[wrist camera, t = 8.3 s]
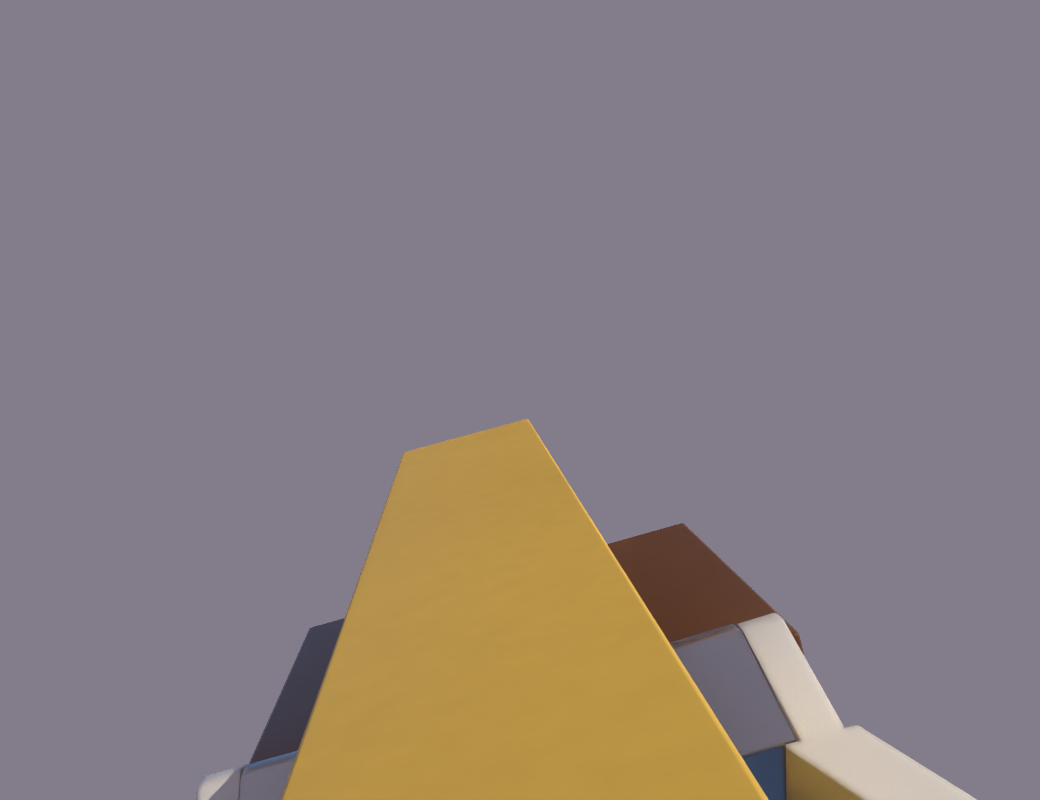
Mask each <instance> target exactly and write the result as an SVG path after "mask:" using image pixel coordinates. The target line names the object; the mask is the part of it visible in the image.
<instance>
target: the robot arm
mask: <svg viewBox="0 0 1040 800" xmlns="http://www.w3.org/2000/svg"><path fill="white" fill-rule="evenodd" d="M670 645H671V646H672V648H673V649H674V651H675V652H676V654H677V656H678V657H679V659H680V660H681V662H682V664H683V665H684V667H685V668H686V670H687V671H688V673H689V675H690V676H691V678H692V679H693V681H694V683H695V684H696V686H697V687H698V689H699V690H700V692H701V694H702V695H703V697H704V698H705V700H706V701H707V703H708V705H709V706H710V708H711V709H712V711H713V713H714V714H715V716H716V717H717V719H718V720H719V722H720V724H721V725H722V727H723V728H724V730H725V732H726V733H727V735H728V736H729V738H730V739H731V741H732V743H733V744H734V746H735V747H736V749H737V751H738V752H739V754H740V755H741V757H742V758H743V760H744V762H745V763H746V765H747V766H748V768H749V769H750V771H751V773H752V774H753V776H754V777H755V779H756V781H757V782H758V784H759V785H760V787H761V788H762V790H763V792H764V793H765V795H766V796H767V798H768V800H976V799H975V798H973V797H972V796H970V795H968V794H967V793H965V792H964V791H962V790H961V789H959V788H957V787H956V786H954V785H952V784H951V783H949V782H948V781H946V780H945V779H943V778H941V777H940V776H938V775H937V774H935V773H933V772H932V771H930V770H929V769H927V768H925V767H924V766H922V765H921V764H919V763H917V762H916V761H914V760H913V759H911V758H909V757H908V756H906V755H904V754H903V753H901V752H900V751H898V750H897V749H895V748H893V747H892V746H890V745H889V744H887V743H885V742H884V741H882V740H881V739H879V738H877V737H876V736H874V735H873V734H871V733H869V732H868V731H866V730H865V729H863V728H861V727H860V726H858V725H857V724H856V725H852V726H848V727H844V726H843V724H842V723H841V721H840V719H839V717H838V716H837V714H836V712H835V710H834V708H833V707H832V705H831V703H830V701H829V700H828V698H827V696H826V694H825V693H824V691H823V689H822V687H821V686H820V684H819V682H818V681H817V678H816V676H815V675H814V673H813V672H812V669H811V668H810V666H809V664H808V662H807V660H806V659H805V657H804V655H803V653H802V652H801V650H800V648H799V646H798V644H797V643H796V641H795V639H794V637H793V636H792V634H791V632H790V630H789V628H788V627H787V625H786V623H785V621H784V620H783V619H782V618H781V617H780V616H779V615H778V614H776V613H771V614H768V615H764V616H761V617H758V618H755V619H752V620H748V621H745V622H742V623H739V624H736V625H734V624H730V625H727V626H724V627H720V628H717V629H714V630H710V631H707V632H704V633H701V634H697V635H694V636H691V637H687V638H684V639H681V640H678V641H674V642H671V643H670ZM296 754H297V751H295V752H292V753H288V754H284V755H281V756H277V757H273V758H270V759H266V760H262V761H258V762H255V763H251V764H246V765H243V766H239V767H235V768H232V769H228V770H225V771H221V772H218V773H214V774H211V775H207V776H204V777H203V778H202V781H201V783H200V785H199V788H198V790H197V793H196V800H280V799H281V796H282V794H283V791H284V788H285V785H286V782H287V780H288V777H289V774H290V771H291V768H292V766H293V763H294V760H295V757H296Z"/></svg>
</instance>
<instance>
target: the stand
mask: <svg viewBox="0 0 1040 800" xmlns="http://www.w3.org/2000/svg"><path fill="white" fill-rule="evenodd" d="M607 545H608V547H609V548H610V550H611V551H612V553H613V554H614V556H615V558H616V559H617V561H618V562H619V564H620V565H621V567H622V569H623V570H624V572H625V573H626V575H627V577H628V578H629V580H630V581H631V583H632V584H633V586H634V588H635V589H636V591H637V592H638V594H639V596H640V597H641V599H642V600H643V602H644V603H645V605H646V607H647V608H648V610H649V611H650V613H651V615H652V616H653V618H654V619H655V621H656V622H657V624H658V626H659V627H660V629H661V630H662V632H663V633H664V635H665V637H666V638H667V640H668V641H669V643H671V642H674V641H678V640H681V639H684V638H687V637H691V636H694V635H697V634H701V633H704V632H707V631H710V630H714V629H717V628H720V627H724V626H727V625H730V624H734V625H736V624H739V623H742V622H745V621H748V620H752V619H755V618H758V617H761V616H764V615H768V614H771V613H776V614H778V613H777V612H776V611H775V610H774V609H773V608H772V607H771V606H770V605H769V604H768V603H767V602H765V601H764V600H763V599H762V598H761V597H760V596H759V595H758V594H757V593H756V592H755V591H754V590H753V589H752V588H751V587H750V586H749V585H747V583H746V582H744V581H743V580H742V579H741V578H740V577H739V576H738V575H737V574H736V573H735V572H734V571H733V570H732V569H731V568H730V567H729V566H728V565H727V564H726V563H725V562H724V561H722V560H721V559H720V558H719V557H718V556H717V555H716V554H715V553H714V552H713V551H712V550H711V549H710V548H709V547H708V546H707V545H706V544H705V543H704V542H702V541H701V540H700V539H699V538H698V537H697V536H696V535H695V534H694V533H693V532H692V531H691V530H690V529H689V528H688V527H687V526H686V525H685V524H683V523H682V524H678V525H674V526H671V527H667V528H664V529H660V530H657V531H653V532H649V533H646V534H643V535H639V536H635V537H632V538H628V539H624V540H621V541H617V542H614V543H610V544H607ZM778 615H779V614H778ZM779 616H780V615H779ZM780 617H781V616H780ZM781 618H782V617H781ZM344 619H345V618H344ZM344 619H340V620H337V621H333V622H330V623H326V624H323V625H319V626H315V627H312V628H310V629H309V631H308V633H307V636H306V638H305V640H304V642H303V644H302V647H301V649H300V652H299V653H298V656H297V658H296V660H295V662H294V665H293V667H292V669H291V671H290V674H289V676H288V678H287V680H286V683H285V685H284V687H283V689H282V691H281V694H280V696H279V698H278V700H277V703H276V705H275V707H274V709H273V712H272V713H271V716H270V718H269V720H268V722H267V725H266V727H265V729H264V732H263V734H262V736H261V738H260V740H259V742H258V745H257V747H256V749H255V751H254V754H253V756H252V758H251V760H250V763H249V764H251V763H255V762H258V761H262V760H266V759H270V758H273V757H277V756H281V755H284V754H288V753H292V752H295V751H298V749H299V746H300V743H301V740H302V737H303V735H304V732H305V729H306V726H307V723H308V721H309V718H310V715H311V712H312V709H313V706H314V704H315V701H316V698H317V695H318V692H319V690H320V687H321V684H322V681H323V678H324V676H325V673H326V670H327V667H328V664H329V661H330V659H331V656H332V653H333V650H334V647H335V645H336V642H337V639H338V636H339V633H340V630H341V628H342V625H343V622H344ZM782 619H783V618H782ZM783 620H784V619H783ZM784 621H785V623H786V625H787V627H788V628H789V630H790V632H791V634H792V636H793V637H794V639H795V641H796V643H797V644H798V646H799V648H800V650H801V652H802V653H803V649H802V645H801V640H800V636H799V634H798V632H797V631H796V630H795V629H794V628H793V627H792V626H791V625H790V624H789V623H788V622H787V621H786V620H784ZM803 655H804V653H803Z"/></svg>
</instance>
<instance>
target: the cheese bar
mask: <svg viewBox="0 0 1040 800" xmlns="http://www.w3.org/2000/svg"><path fill="white" fill-rule="evenodd" d="M280 800H768V798H767V796H766V795H765V793H764V792H763V790H762V788H761V787H760V785H759V784H758V782H757V781H756V779H755V777H754V776H753V774H752V773H751V771H750V769H749V768H748V766H747V765H746V763H745V762H744V760H743V758H742V757H741V755H740V754H739V752H738V751H737V749H736V747H735V746H734V744H733V743H732V741H731V739H730V738H729V736H728V735H727V733H726V732H725V730H724V728H723V727H722V725H721V724H720V722H719V720H718V719H717V717H716V716H715V714H714V713H713V711H712V709H711V708H710V706H709V705H708V703H707V701H706V700H705V698H704V697H703V695H702V694H701V692H700V690H699V689H698V687H697V686H696V684H695V683H694V681H693V679H692V678H691V676H690V675H689V673H688V671H687V670H686V668H685V667H684V665H683V664H682V662H681V660H680V659H679V657H678V656H677V654H676V652H675V651H674V649H673V648H672V646H671V645H670V643H669V641H668V640H667V638H666V637H665V635H664V633H663V632H662V630H661V629H660V627H659V626H658V624H657V622H656V621H655V619H654V618H653V616H652V615H651V613H650V611H649V610H648V608H647V607H646V605H645V603H644V602H643V600H642V599H641V597H640V596H639V594H638V592H637V591H636V589H635V588H634V586H633V584H632V583H631V581H630V580H629V578H628V577H627V575H626V573H625V572H624V570H623V569H622V567H621V565H620V564H619V562H618V561H617V559H616V558H615V556H614V554H613V553H612V551H611V550H610V548H609V547H608V545H607V543H606V542H605V541H604V539H603V537H602V535H601V534H600V532H599V531H598V529H597V528H596V526H595V524H594V523H593V521H592V520H591V518H590V516H589V515H588V513H587V512H586V510H585V509H584V507H583V505H582V504H581V502H580V501H579V499H578V497H577V496H576V494H575V493H574V491H573V490H572V488H571V486H570V485H569V483H568V482H567V480H566V479H565V477H564V476H563V474H562V472H561V471H560V469H559V467H558V466H557V464H556V463H555V461H554V460H553V458H552V457H551V455H550V453H549V452H548V450H547V448H546V447H545V445H544V444H543V442H542V441H541V439H540V437H539V436H538V434H537V433H536V431H535V429H534V428H533V426H532V425H531V423H530V422H529V420H528V419H524V420H521V421H517V422H513V423H510V424H506V425H503V426H499V427H495V428H492V429H488V430H484V431H481V432H477V433H473V434H470V435H466V436H462V437H459V438H455V439H451V440H448V441H444V442H440V443H437V444H433V445H430V446H426V447H422V448H418V449H415V450H411V451H407V452H405V453H403V457H402V459H401V462H400V465H399V467H398V470H397V473H396V476H395V479H394V481H393V484H392V487H391V490H390V493H389V495H388V498H387V501H386V504H385V507H384V510H383V512H382V515H381V518H380V521H379V524H378V526H377V530H376V532H375V535H374V538H373V540H372V543H371V546H370V549H369V552H368V555H367V557H366V560H365V563H364V566H363V569H362V572H361V574H360V577H359V580H358V583H357V585H356V589H355V591H354V594H353V597H352V600H351V602H350V605H349V608H348V611H347V614H346V616H345V619H344V622H343V625H342V628H341V630H340V633H339V636H338V639H337V642H336V645H335V647H334V650H333V653H332V656H331V659H330V661H329V664H328V667H327V670H326V673H325V676H324V678H323V681H322V684H321V687H320V690H319V692H318V695H317V698H316V701H315V704H314V706H313V709H312V712H311V715H310V718H309V721H308V723H307V726H306V729H305V732H304V735H303V737H302V740H301V743H300V746H299V749H298V751H297V754H296V757H295V760H294V763H293V766H292V768H291V771H290V774H289V777H288V780H287V782H286V785H285V788H284V791H283V794H282V796H281V799H280Z"/></svg>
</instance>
